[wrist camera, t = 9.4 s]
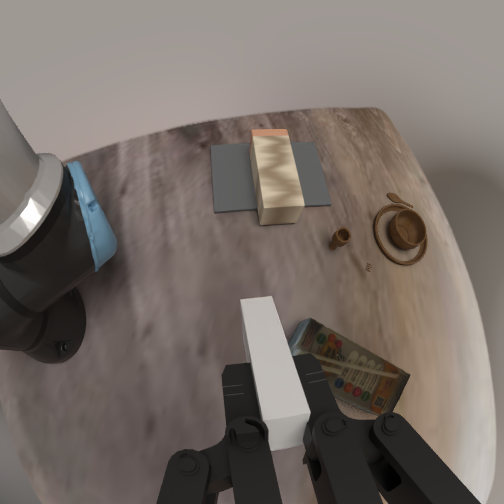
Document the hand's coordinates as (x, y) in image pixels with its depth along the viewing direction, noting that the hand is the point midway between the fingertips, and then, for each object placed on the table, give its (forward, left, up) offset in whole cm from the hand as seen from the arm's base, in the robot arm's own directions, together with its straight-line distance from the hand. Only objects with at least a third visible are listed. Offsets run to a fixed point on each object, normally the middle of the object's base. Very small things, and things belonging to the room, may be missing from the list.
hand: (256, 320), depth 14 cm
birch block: (+8, +17, -24) cm, 31 cm away
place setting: (+27, +15, -29) cm, 42 cm away
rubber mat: (+8, +27, -28) cm, 40 cm away
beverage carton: (+14, -7, -29) cm, 33 cm away
